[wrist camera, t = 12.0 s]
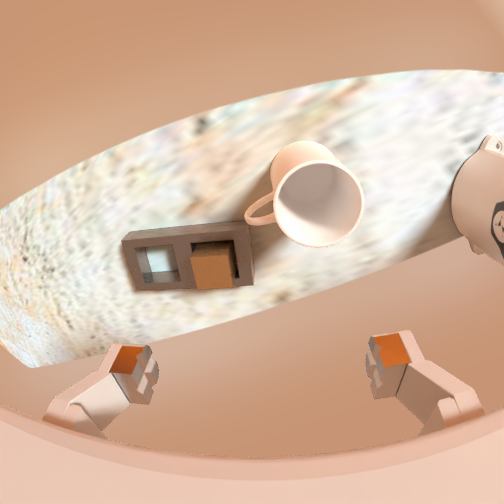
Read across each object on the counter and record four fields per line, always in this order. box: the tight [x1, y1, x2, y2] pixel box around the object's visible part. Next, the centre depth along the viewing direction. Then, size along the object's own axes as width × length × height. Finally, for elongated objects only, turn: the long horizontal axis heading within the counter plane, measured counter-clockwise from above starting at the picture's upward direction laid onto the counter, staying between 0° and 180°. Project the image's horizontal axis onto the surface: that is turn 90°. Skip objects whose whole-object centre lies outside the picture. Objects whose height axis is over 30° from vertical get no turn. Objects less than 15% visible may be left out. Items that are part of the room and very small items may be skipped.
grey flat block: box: [121, 220, 255, 290], centre depth 41 cm, size 17×8×3 cm, turn 96°
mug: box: [244, 141, 364, 248], centre depth 31 cm, size 12×8×12 cm
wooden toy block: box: [190, 239, 238, 290], centre depth 39 cm, size 4×4×6 cm
